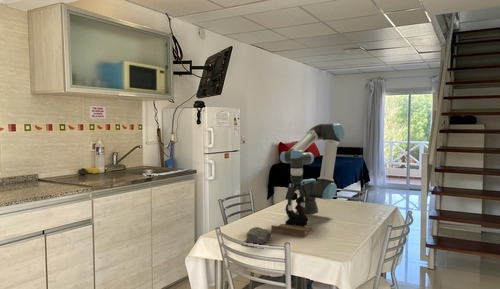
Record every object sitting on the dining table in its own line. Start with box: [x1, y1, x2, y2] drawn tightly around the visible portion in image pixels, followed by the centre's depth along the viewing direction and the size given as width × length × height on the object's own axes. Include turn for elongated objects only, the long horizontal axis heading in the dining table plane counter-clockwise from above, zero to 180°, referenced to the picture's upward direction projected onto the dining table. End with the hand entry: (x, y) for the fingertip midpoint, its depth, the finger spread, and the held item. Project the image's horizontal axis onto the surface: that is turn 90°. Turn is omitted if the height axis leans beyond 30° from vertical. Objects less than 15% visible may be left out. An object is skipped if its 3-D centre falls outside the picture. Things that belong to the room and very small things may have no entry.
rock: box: [246, 226, 272, 245], centre depth 201 cm, size 13×6×15 cm
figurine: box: [284, 192, 309, 227], centre depth 232 cm, size 14×9×20 cm, turn 61°
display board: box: [270, 223, 313, 238], centre depth 216 cm, size 15×20×4 cm
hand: (296, 208), depth 231 cm, fingers open, 13 cm apart
